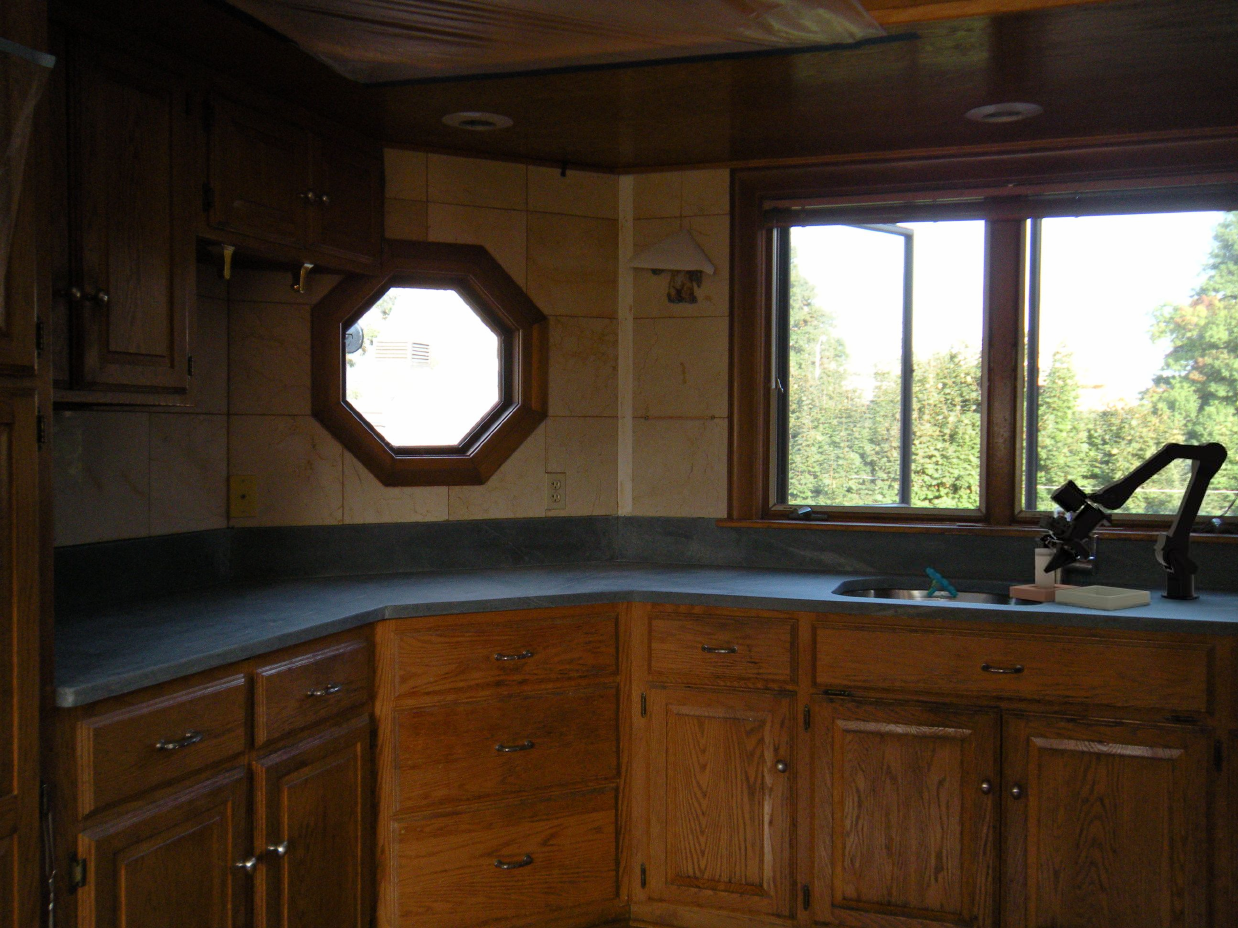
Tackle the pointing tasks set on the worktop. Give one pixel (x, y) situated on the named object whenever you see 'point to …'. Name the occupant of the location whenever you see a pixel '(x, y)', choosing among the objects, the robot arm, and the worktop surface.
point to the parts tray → (1102, 597)
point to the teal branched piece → (939, 584)
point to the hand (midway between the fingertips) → (1039, 570)
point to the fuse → (1041, 561)
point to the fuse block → (1037, 592)
